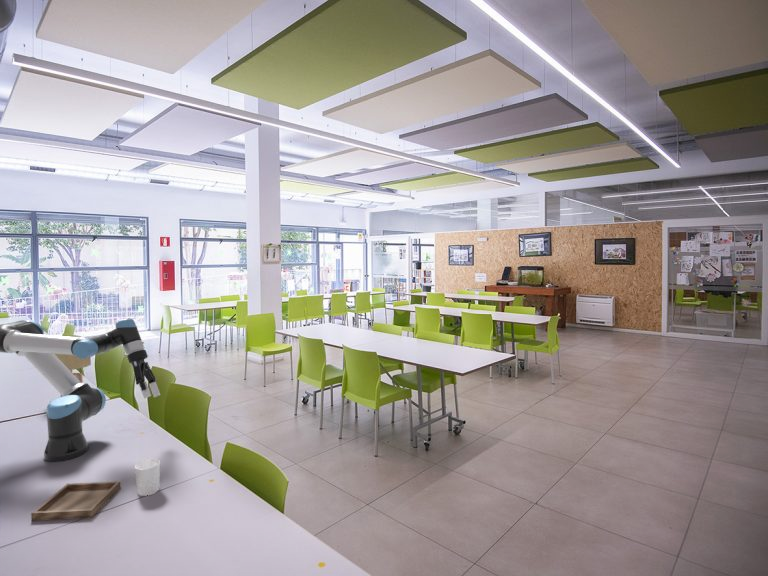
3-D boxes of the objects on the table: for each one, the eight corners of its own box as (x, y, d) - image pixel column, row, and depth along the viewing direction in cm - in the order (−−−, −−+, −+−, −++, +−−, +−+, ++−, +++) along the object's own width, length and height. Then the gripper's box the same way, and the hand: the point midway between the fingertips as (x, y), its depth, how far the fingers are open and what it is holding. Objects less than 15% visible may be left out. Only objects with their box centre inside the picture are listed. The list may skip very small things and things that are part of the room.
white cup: (135, 499, 150) (134, 471, 149) (136, 488, 157) (135, 461, 156) (161, 493, 153) (160, 466, 153) (160, 483, 160) (159, 457, 160)
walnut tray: (31, 520, 138) (31, 513, 137) (67, 490, 155) (67, 483, 155) (91, 517, 139) (91, 510, 139) (120, 488, 157) (120, 481, 157)
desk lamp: (77, 406, 242) (73, 344, 240) (42, 406, 243) (38, 343, 240) (100, 395, 262) (97, 337, 259) (68, 395, 262) (65, 337, 259)
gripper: (135, 346, 183) (152, 393, 180) (153, 350, 207) (168, 392, 204) (116, 353, 181) (134, 401, 178) (136, 357, 205) (152, 399, 202)
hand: (152, 396), depth 191 cm, fingers open, 13 cm apart
